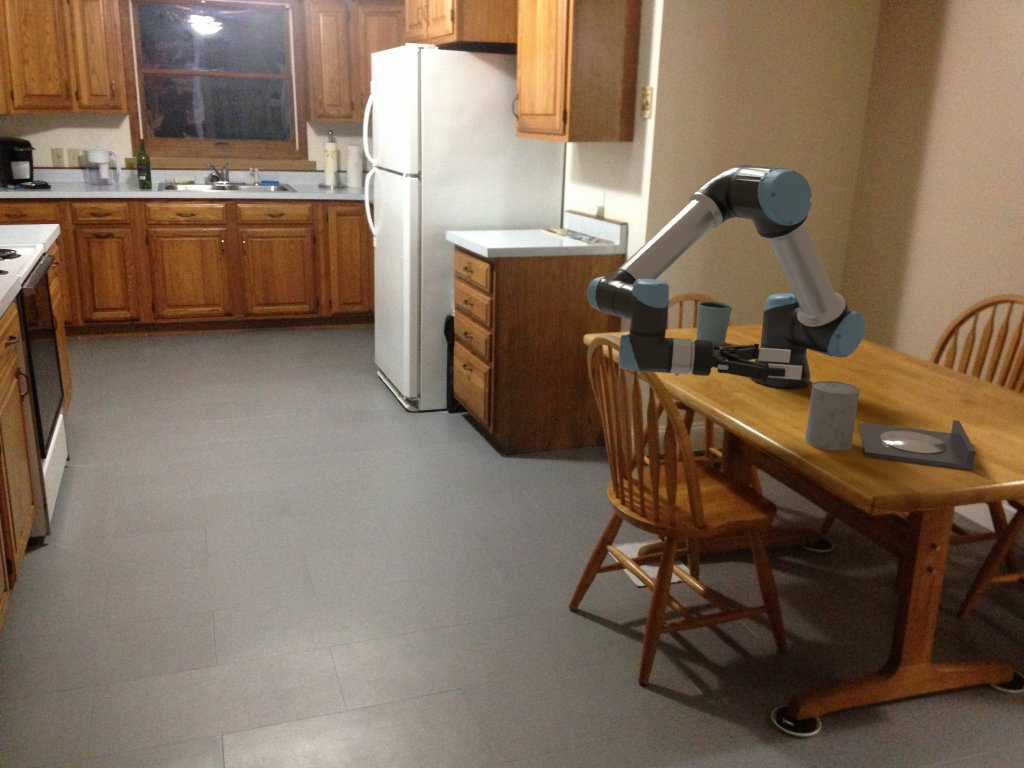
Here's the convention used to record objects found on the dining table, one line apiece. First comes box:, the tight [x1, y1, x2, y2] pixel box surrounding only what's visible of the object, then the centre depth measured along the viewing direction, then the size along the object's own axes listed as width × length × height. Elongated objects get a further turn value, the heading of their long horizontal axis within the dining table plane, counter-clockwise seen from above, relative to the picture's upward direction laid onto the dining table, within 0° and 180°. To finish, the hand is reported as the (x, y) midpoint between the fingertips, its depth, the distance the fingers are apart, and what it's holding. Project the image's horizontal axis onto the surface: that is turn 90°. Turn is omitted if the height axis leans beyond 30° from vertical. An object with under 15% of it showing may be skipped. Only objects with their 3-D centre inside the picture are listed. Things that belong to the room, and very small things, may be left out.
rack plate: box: [858, 419, 976, 471], centre depth 188 cm, size 20×20×4 cm
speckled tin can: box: [804, 380, 861, 452], centre depth 188 cm, size 10×10×12 cm
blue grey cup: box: [695, 300, 733, 346], centre depth 271 cm, size 10×10×12 cm
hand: (795, 364), depth 185 cm, fingers open, 13 cm apart
